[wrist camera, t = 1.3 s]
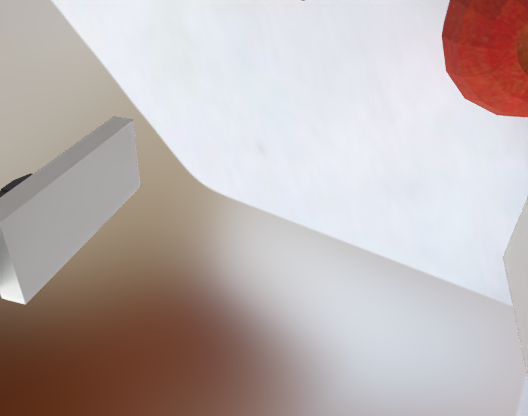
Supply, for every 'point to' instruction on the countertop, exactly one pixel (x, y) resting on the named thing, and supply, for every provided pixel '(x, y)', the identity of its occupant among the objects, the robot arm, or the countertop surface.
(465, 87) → the apple
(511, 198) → the countertop surface
